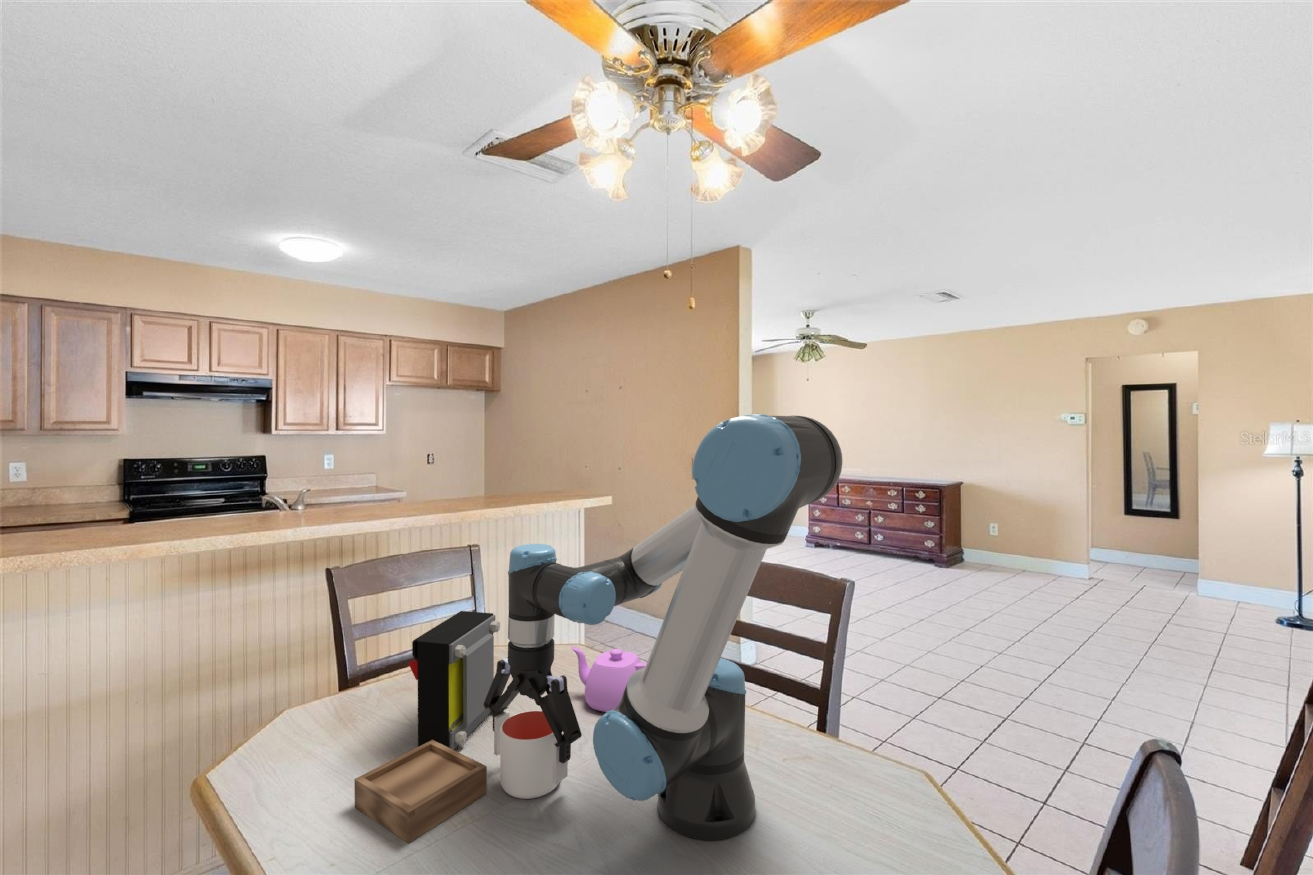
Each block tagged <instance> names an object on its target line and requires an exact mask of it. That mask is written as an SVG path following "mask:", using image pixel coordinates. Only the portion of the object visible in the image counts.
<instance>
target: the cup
mask: <svg viewBox="0 0 1313 875" xmlns="http://www.w3.org/2000/svg"><path fill="white" fill-rule="evenodd" d="M555 741H557V740H556V738H555V736H554V734H553V732H552V730H551V728H550V726H549V724H548V722H547V719H546V717H545V715H544V713H543V711H542V710H526V711H523V712H519V713H515V714H513V715H511V716H509V718H508V719H506V720H505V721H504V722H503V723H502V725H501V728H500V754H499V757H500V759H499V762H500V766H499V767H500V768H499V770H500V772H499V773H500V776H499V781H500V786H501V787H502V789H503V790H504V792H505V793H507V794H508V795H509V796H510V797H511V796H512V797H514V798H518V799H527V800H529V799H536V798H540V797H542V796H545V795H547V794H550V793H551V792H552V791H553V790H554V789H556V787H558V785H559V783H557V784H554V783H552V774H553V742H555Z"/></svg>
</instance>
